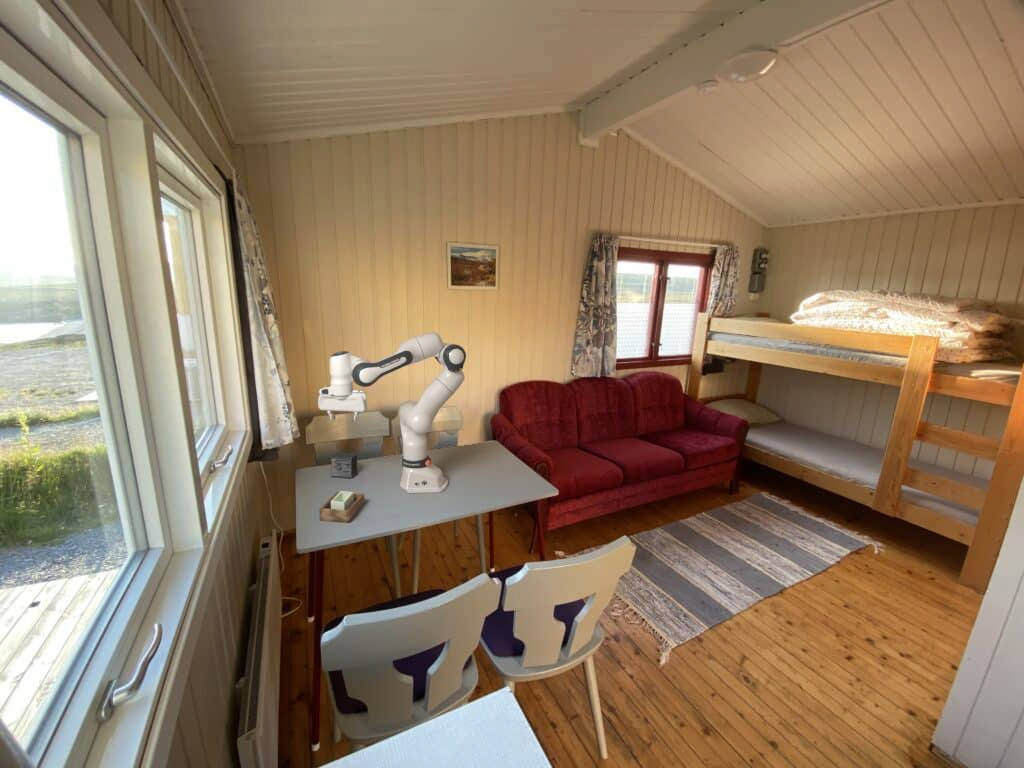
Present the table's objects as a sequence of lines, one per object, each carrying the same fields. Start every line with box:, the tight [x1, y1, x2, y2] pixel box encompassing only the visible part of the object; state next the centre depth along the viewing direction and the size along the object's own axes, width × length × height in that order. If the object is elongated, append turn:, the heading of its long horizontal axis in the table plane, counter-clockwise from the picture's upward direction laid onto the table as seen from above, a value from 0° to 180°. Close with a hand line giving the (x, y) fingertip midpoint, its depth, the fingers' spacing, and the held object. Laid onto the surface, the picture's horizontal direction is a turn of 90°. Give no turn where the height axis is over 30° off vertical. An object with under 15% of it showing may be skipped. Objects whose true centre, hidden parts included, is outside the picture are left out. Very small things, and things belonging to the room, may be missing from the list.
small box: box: [330, 452, 358, 479], centre depth 208 cm, size 11×6×10 cm, turn 84°
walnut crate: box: [318, 491, 365, 524], centre depth 176 cm, size 12×15×5 cm
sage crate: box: [331, 490, 355, 510], centre depth 176 cm, size 6×9×6 cm, turn 176°
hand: (343, 420), depth 186 cm, fingers open, 8 cm apart
